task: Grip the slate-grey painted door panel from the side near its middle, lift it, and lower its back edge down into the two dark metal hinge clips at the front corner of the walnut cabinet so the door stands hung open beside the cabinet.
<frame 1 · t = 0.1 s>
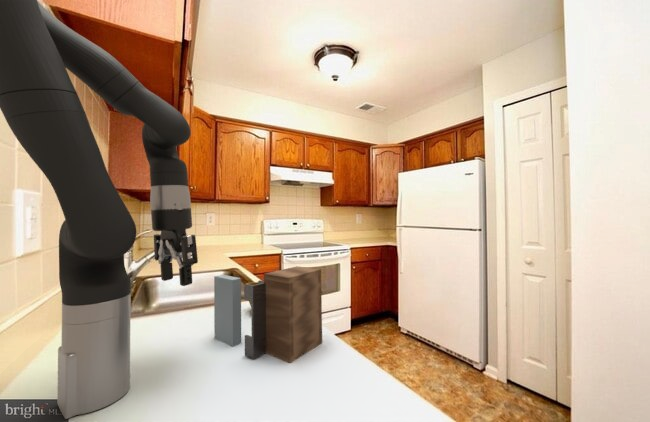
hand: (176, 282, 58), 17 cm above the worktop, tool pointing down, fingers open, 8 cm apart
cabinet: (294, 347, 64), on the worktop
hinge clips: (256, 353, 61), on the worktop
door: (227, 340, 68), on the worktop
flower pot: (261, 312, 89), on the worktop
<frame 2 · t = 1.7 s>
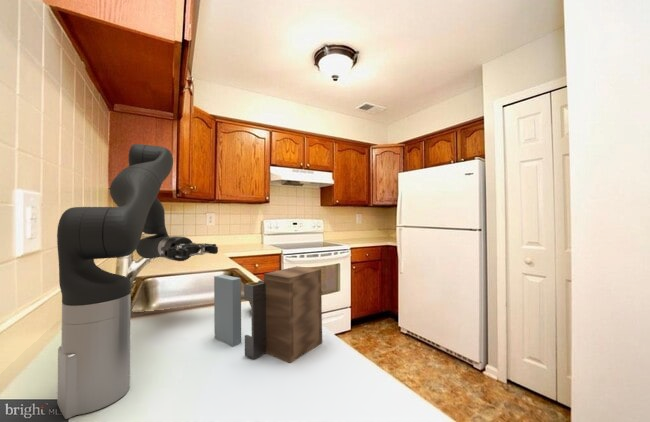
hand: (202, 251, 76), 22 cm above the worktop, tool horizontal, fingers open, 8 cm apart
nothing on the worktop moved.
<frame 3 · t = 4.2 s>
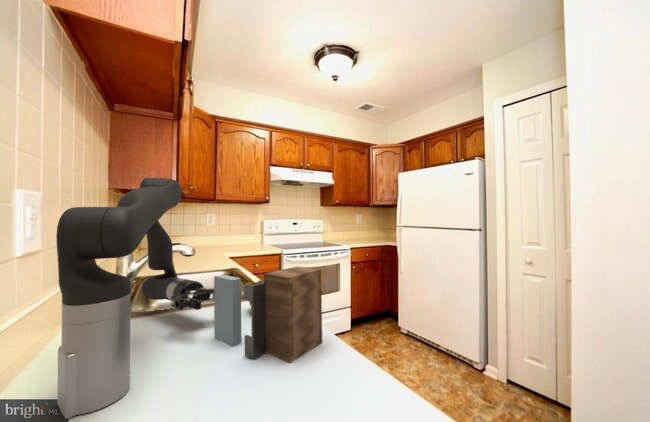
hand: (215, 301, 72), 9 cm above the worktop, tool horizontal, fingers open, 8 cm apart
nothing on the worktop moved.
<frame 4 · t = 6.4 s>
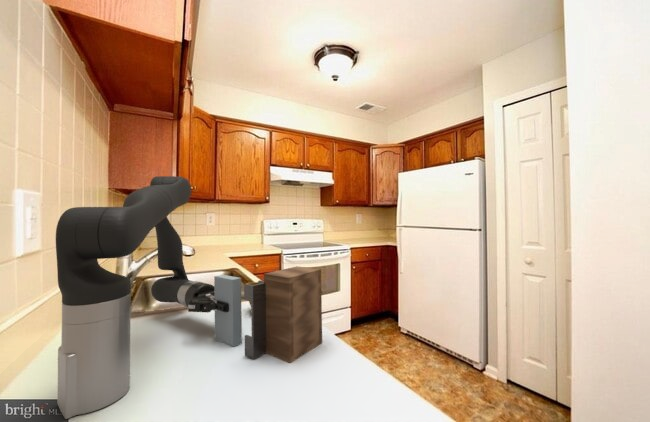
hand: (233, 306, 67), 9 cm above the worktop, tool horizontal, fingers closed on door, 2 cm apart
door: (228, 340, 68), on the worktop, touching gripper
everything else where it was.
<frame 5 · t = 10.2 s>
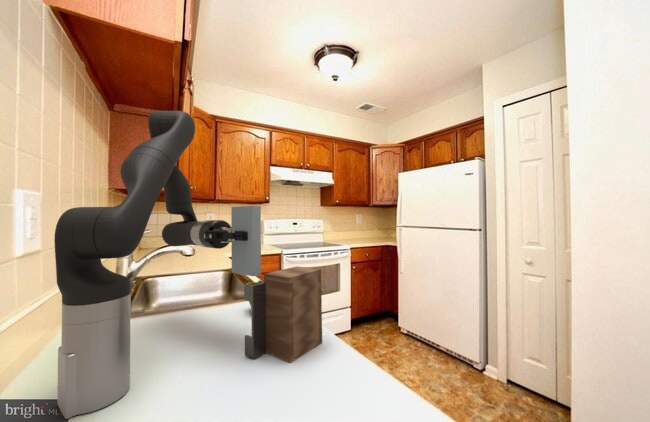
hand: (251, 235, 63), 27 cm above the worktop, tool horizontal, fingers closed on door, 2 cm apart
door: (246, 273, 64), point 18 cm above the worktop, touching gripper
everything else where it was.
when the fingers open (10 cm above the worktop, at t = 14.3 s): door drops 1 cm, on the worktop.
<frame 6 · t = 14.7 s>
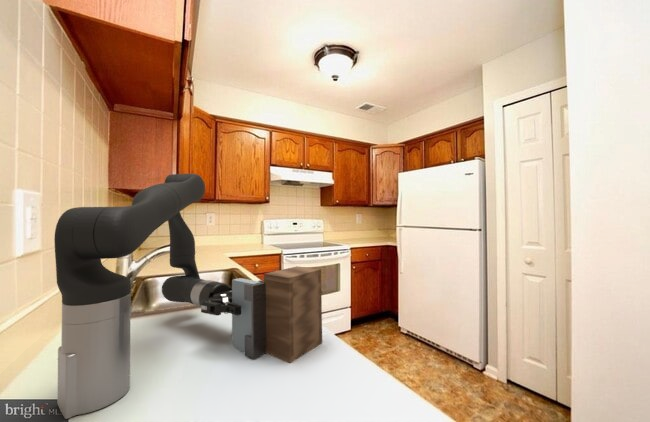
hand: (251, 306, 63), 10 cm above the worktop, tool horizontal, fingers open, 5 cm apart
door: (246, 349, 63), on the worktop
everything else where it was.
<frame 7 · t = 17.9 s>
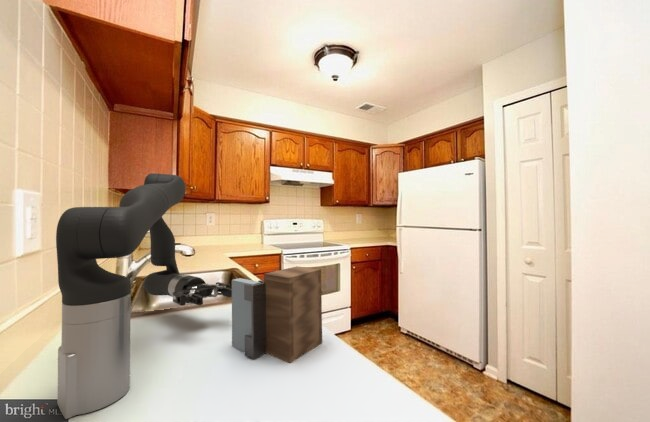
hand: (217, 297, 71), 10 cm above the worktop, tool horizontal, fingers open, 8 cm apart
nothing on the worktop moved.
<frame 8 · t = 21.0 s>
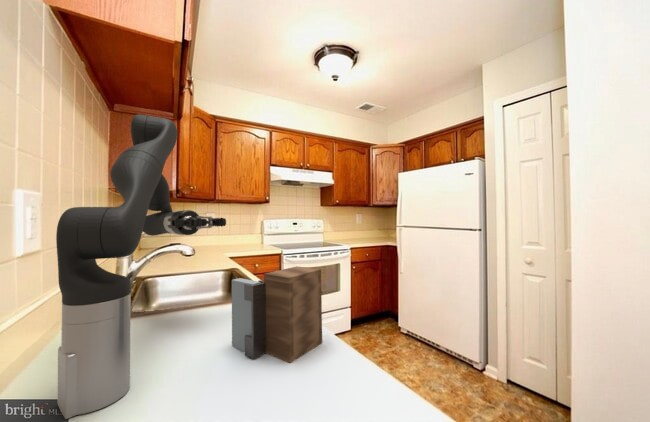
hand: (210, 222, 73), 30 cm above the worktop, tool horizontal, fingers open, 8 cm apart
nothing on the worktop moved.
at the end: door 0.2 cm from the target spot, on the worktop; door tilted 0°; the gripper is holding nothing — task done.
